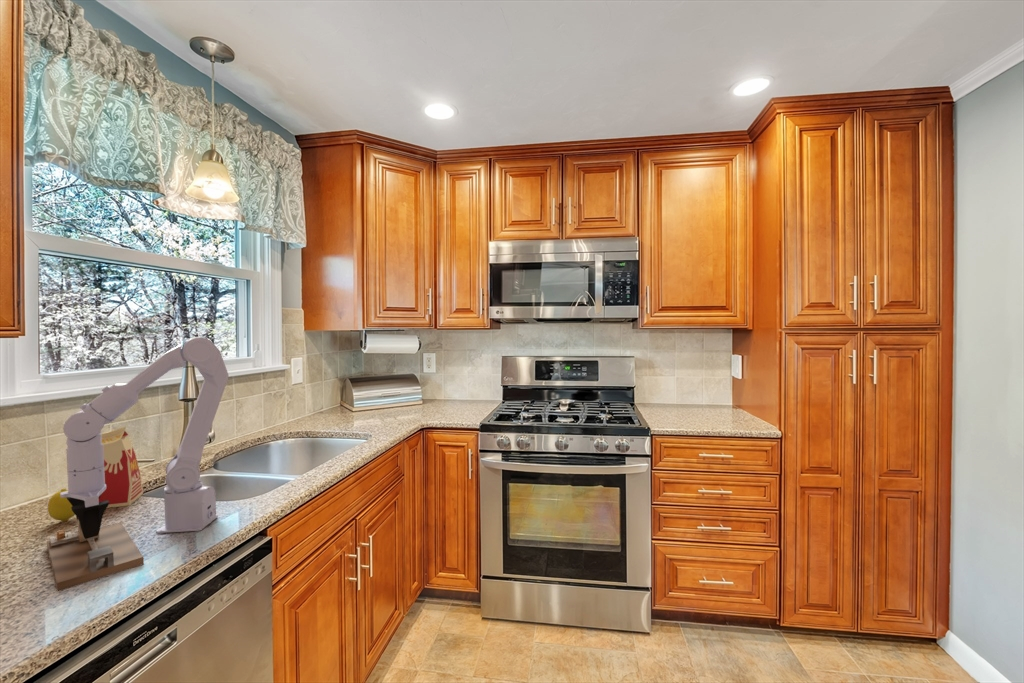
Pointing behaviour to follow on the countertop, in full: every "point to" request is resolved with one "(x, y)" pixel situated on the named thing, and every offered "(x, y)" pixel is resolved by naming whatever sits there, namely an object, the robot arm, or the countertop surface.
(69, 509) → the lemon
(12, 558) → the countertop surface
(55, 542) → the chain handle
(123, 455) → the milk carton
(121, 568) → the keeper board
